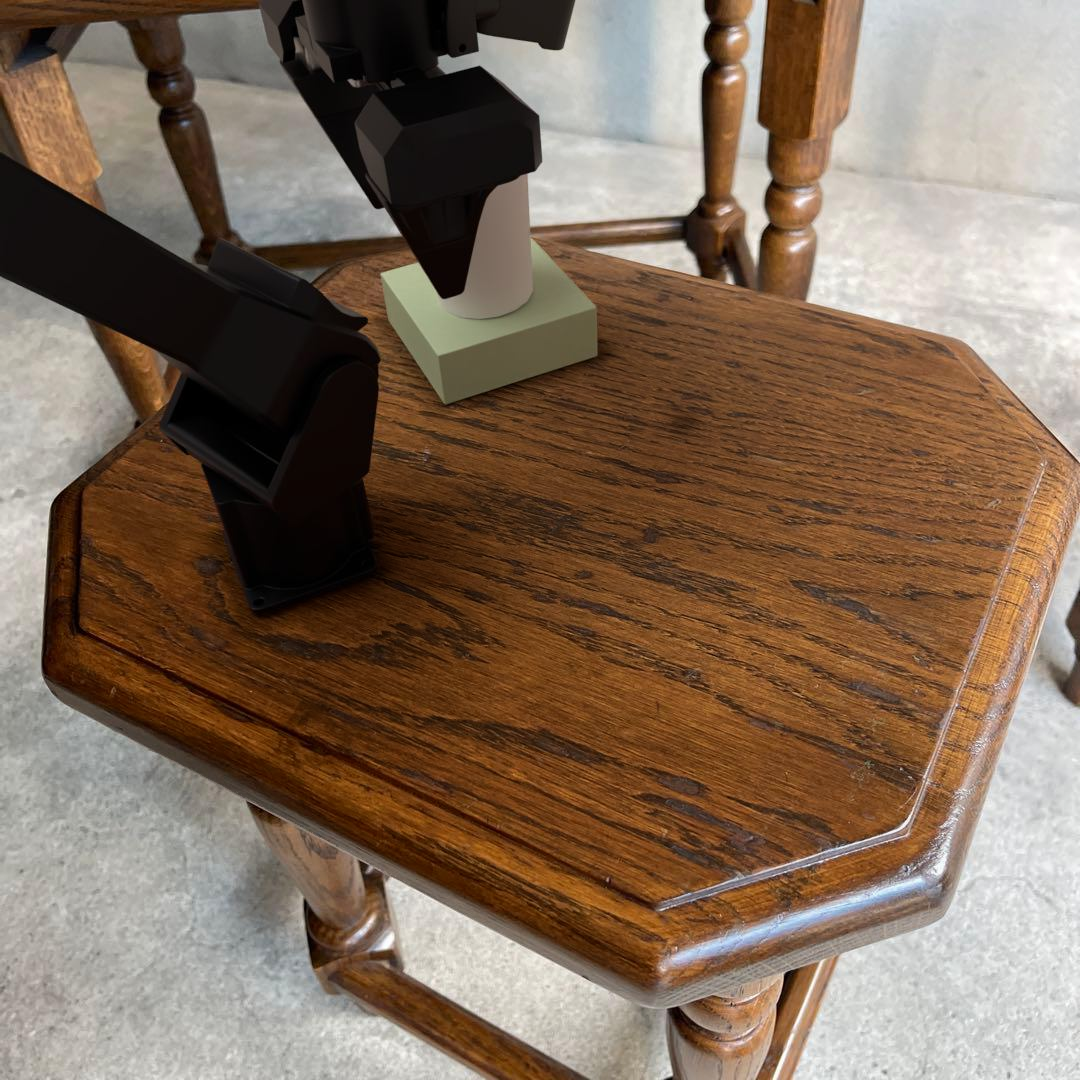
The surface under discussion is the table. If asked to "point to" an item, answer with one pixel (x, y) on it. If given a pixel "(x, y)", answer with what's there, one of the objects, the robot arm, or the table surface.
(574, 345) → the riser block
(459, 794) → the table surface
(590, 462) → the table surface
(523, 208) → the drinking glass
